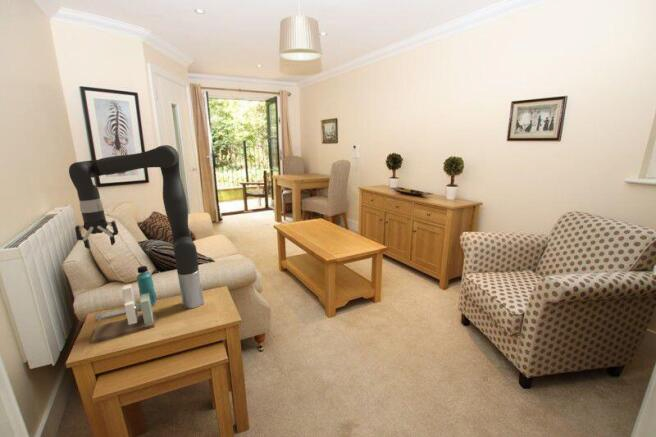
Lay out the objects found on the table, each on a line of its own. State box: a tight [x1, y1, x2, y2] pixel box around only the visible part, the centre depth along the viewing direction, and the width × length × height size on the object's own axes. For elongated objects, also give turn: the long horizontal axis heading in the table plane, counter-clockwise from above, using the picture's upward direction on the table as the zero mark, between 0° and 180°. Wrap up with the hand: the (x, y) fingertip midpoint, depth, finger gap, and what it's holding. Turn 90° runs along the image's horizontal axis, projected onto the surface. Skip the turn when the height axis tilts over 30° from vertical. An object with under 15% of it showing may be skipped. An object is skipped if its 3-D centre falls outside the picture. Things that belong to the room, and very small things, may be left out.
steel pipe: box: [95, 303, 142, 321], centre depth 131 cm, size 18×3×3 cm, turn 117°
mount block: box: [139, 293, 154, 324], centre depth 135 cm, size 3×8×10 cm, turn 27°
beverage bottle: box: [136, 265, 157, 305], centre depth 149 cm, size 6×7×20 cm
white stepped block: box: [121, 284, 140, 325], centre depth 132 cm, size 3×9×15 cm, turn 27°
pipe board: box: [91, 311, 156, 344], centre depth 133 cm, size 22×11×2 cm, turn 117°
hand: (100, 246), depth 134 cm, fingers open, 8 cm apart
